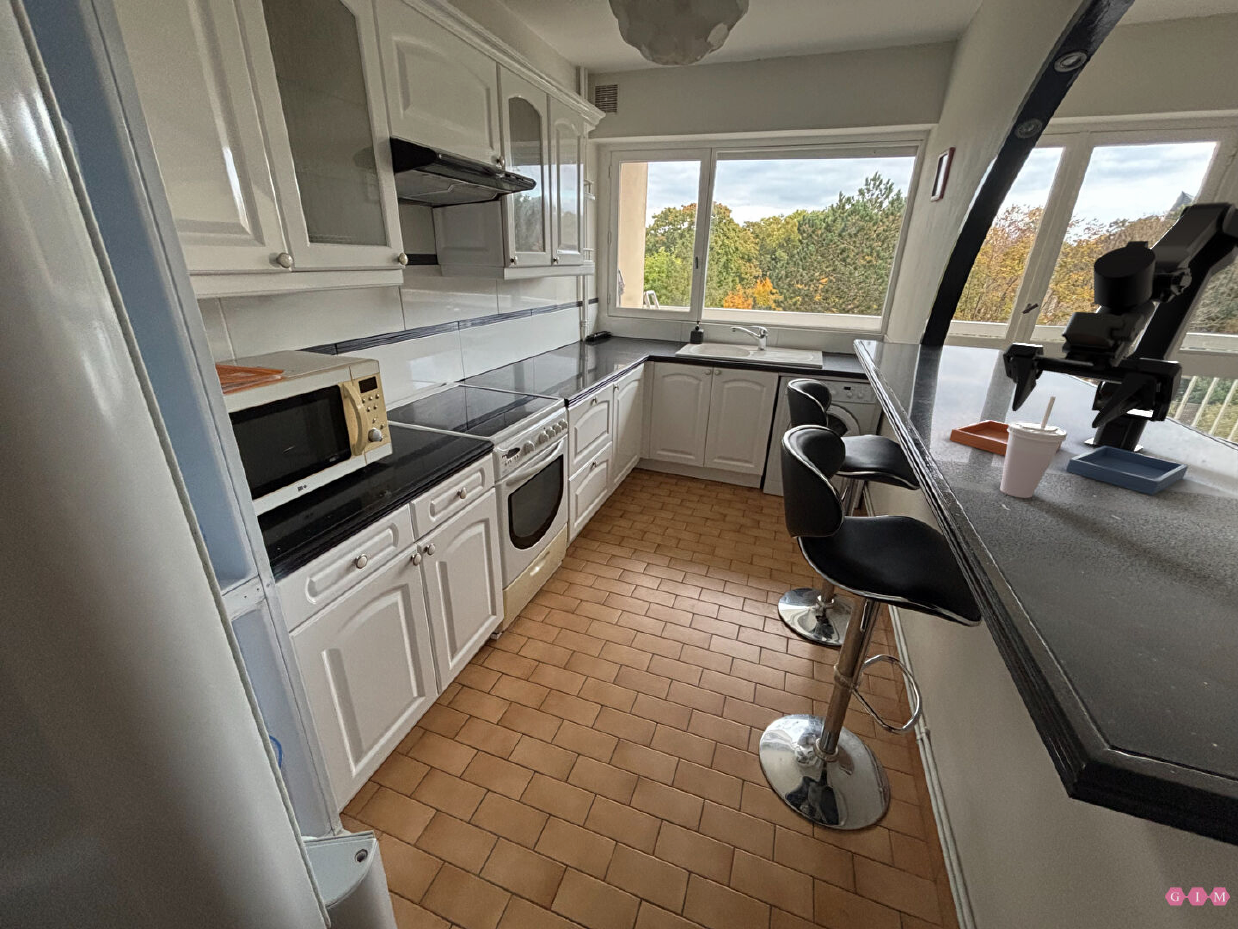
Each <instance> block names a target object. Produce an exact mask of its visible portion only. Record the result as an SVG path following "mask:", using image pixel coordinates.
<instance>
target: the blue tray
mask: <svg viewBox="0 0 1238 929" xmlns="http://www.w3.org/2000/svg"><path fill="white" fill-rule="evenodd" d="M1189 466H1190V465H1188V464H1185V463H1180V462H1176V461H1171V460H1168V459H1163V458H1158V457H1156V456H1150V455H1147V454H1142V453H1138V452H1136V453H1134V452H1130V451H1125V450H1121V449H1117V448H1113V447H1108V446H1102V447H1100V448H1098V447H1096V448H1095V449H1092V450H1090V451H1087V452H1085V453H1081V454H1080V455H1077V456H1074V457H1072V458H1070V459H1069V462H1068V464H1067V466H1066V468H1065V471H1066V472H1068V473H1071V474H1074V475H1078V476H1082V477H1086V478H1089V479H1092V480H1096V481H1099V482H1102V483H1103V482H1104V483H1107V484H1110V485H1114V486H1116V487H1117V486H1118V487H1121V488H1125V489H1128V490H1130V491H1131V490H1132V491H1135V492H1139V493H1142V494H1146V495H1149V496H1154V495H1155V494H1157V493H1159V492H1160V491H1163V490H1164V489H1166V488H1168V487H1170V486H1171V485H1173V484H1175V483H1176V482H1178V481H1180V480H1181V479H1183V478H1184V477H1185V474H1187V473H1186V472H1187V471H1188V469H1189Z"/></svg>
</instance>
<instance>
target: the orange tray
mask: <svg viewBox="0 0 1238 929" xmlns="http://www.w3.org/2000/svg"><path fill="white" fill-rule="evenodd" d="M1009 424H1010V423H1004V422H1001V421H996V420H993V419H986V420H982V421H978V422H975V423H971V424H967V425H963V426H959V427H956V428H952V429H951V432H950V436H949V439H948V440H949V441H952V442H955V443H958V444H962V445H965V446H969V447H973V448H976V449H980V450H982V451H987V452H990V453H993V454H997V455H1001V456H1004V457H1005V456H1006V450H1007V443H1008V438H1009V432H1008V431H1007V429H1008V427H1009ZM1062 444H1063V442H1061V443H1060V445H1059V447H1058V449H1057V450H1059V449H1061V446H1062Z"/></svg>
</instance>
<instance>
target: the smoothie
mask: <svg viewBox="0 0 1238 929" xmlns="http://www.w3.org/2000/svg"><path fill="white" fill-rule="evenodd" d="M1056 398H1057V397H1056V396H1050V397H1049V401H1048V403H1047V406H1046V409H1045V412H1044V415H1043V417H1042V420H1041V422H1035V421H1022V420H1020V421H1012V422H1010V423H1008V424H1009V427H1008V429H1007V431H1008V432H1009V438H1008V443H1007V450H1006V456H1004V463H1003V470H1002V476H1001V481H1000V488H999V490H1000V491H1001V492H1002V493H1004V494H1005V495H1008V496H1011V497H1015V498H1020V499H1029V498H1032V497H1033V495H1034V494H1035V492H1036V490H1037V488H1038V486H1039V484H1040V482H1041V480H1042V479H1043V477H1044V475H1045V473H1046V471H1047V469H1048V468H1049V466H1050V464H1051V462H1052V460H1053V459H1054V457H1055V455H1056V453H1057V451H1058V450H1059V449H1058V447H1059V445H1060V443H1061V442H1062V443H1063V442H1065V441H1066V438H1067V436H1068V432H1067V431H1066V430H1064V429H1063V428H1060V427H1057V426H1054V425H1050V424H1048V421H1049V418H1050V416H1051V412H1052V410H1053V407H1054V405H1055V401H1056Z"/></svg>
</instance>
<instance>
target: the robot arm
mask: <svg viewBox="0 0 1238 929" xmlns="http://www.w3.org/2000/svg"><path fill="white" fill-rule="evenodd" d="M1149 244H1150V241H1149V240H1128V242H1127V243H1126V244H1125V246H1122V247H1119V248H1115V249H1113V250H1109V251H1107V252H1106V253H1104V254H1103V255H1101V256H1100V257H1098V258H1097V259H1096V260H1095V261H1094V263H1093V303H1094V305H1098V306H1099V307H1098V308H1097V310H1096V311H1095V312H1089V311H1088V312H1087V311H1074V312H1072V313H1071V315H1070V317H1069V320H1068V321H1067V323H1066V325H1065V327H1064V329H1063V330H1062V333H1061V337H1062V338H1064V340H1065V342H1063V344H1062V345H1061V352H1062V353H1063V354H1065V355H1064V357H1059V356H1051V355H1045V353H1044V346H1043V345H1039V344H1037V345H1036V344H1028V343H1020V342H1015V343H1012V344H1011V343H1010V345H1008V346H1007V347H1006V349H1005V351H1004V352H1003V353H1002V359H1003V364H1004V370H1005V376H1006V377H1007V378H1009V379H1011V380H1012V382H1013V383H1014V384H1015V389H1014V395H1013V401H1012V404H1011V409H1012V412H1017V411H1018V410H1019V409H1020V408H1021V407H1022V406H1023V405H1024V403H1025V402H1026V400H1027V399H1028V398H1029V396H1030V395H1031V394H1032V392H1033V391H1034V389H1036V387H1037V380H1039V379H1040V378H1041V376H1042V375H1043V373H1044V372H1050V373H1057V374H1062V375H1067V376H1073V377H1076V378H1077V379H1078V378H1079V379H1084V380H1085V379H1086V380H1092V381H1099V382H1098V384H1097V387H1096V390H1095V393H1094V398H1093V402H1092V407H1091V411H1094V412H1096V411H1097V412H1098V413H1097V414H1096V415H1095V417H1094V419H1093V421H1092V423H1091V429H1096V431H1095V434H1094V436H1093V438H1091V439H1087V440H1085V441H1084V442H1083V444H1084V445H1086V446H1089V447H1094V448H1100V447H1102V446H1108V447H1113V448H1117V449H1121V450H1125V451H1130V452H1134V453H1138V452H1140V451H1143V450H1144V446H1142V445H1139V442H1140V439H1141V437H1142V435H1143V432H1144V430H1145V427H1146V425H1147V422H1153V423H1156V422H1165V421H1166V418H1167V416H1168V414H1169V411H1170V407H1171V403H1172V402H1173V400H1174V399H1175V397H1176V396H1177V394H1178V392H1179V390H1180V388H1181V380H1182V374H1183V365H1182V364H1181V363H1180V361H1173V360H1172V361H1171V360H1169V359H1170V356H1171V354H1172V353H1173V350H1174V349H1175V347H1176V345H1177V343H1178V341H1179V339H1180V338H1181V335H1182V334H1183V331H1184V330H1185V328H1186V326H1187V324H1188V322H1189V320H1190V318H1191V317H1192V315H1193V313H1194V310H1195V309H1196V307H1197V305H1198V303H1199V301H1200V299H1201V298H1202V295H1203V293H1204V292H1205V290H1206V288H1207V286H1208V284H1209V283H1210V280H1212V277H1214V276H1215V275H1217V274H1218V273H1220V272H1221V271H1223V270H1224V269H1227V267H1229V266H1230V265H1232V264H1233V263H1234V262H1235V261H1236V259H1237V257H1238V208H1237V206H1236V203H1234V202H1231V203H1230V202H1229V201H1216V202H1199V203H1193V204H1192V205H1186V206H1185V207H1184V209H1183V210H1182V212H1181V214H1180V216H1179V217H1178V218H1177V221H1176V222H1175V223H1174V224H1173V225H1172V226H1171V227H1170V228H1169V229H1168V230H1167V231H1166V232H1165V233H1164V234H1163V235H1162V236H1161V237H1160V239H1159V240H1158V241H1157V242H1156V243H1155V244H1154V245H1153V246H1152V247H1150V248H1149ZM1155 303H1157V304H1156V306H1155ZM1143 330H1144V331H1143ZM1142 331H1143V332H1142ZM1141 332H1142V334H1141V336H1140V333H1141ZM1139 336H1140V338H1139V340H1138V341H1137V344H1136V346H1135V347H1134V350H1133V352H1132V353H1131V354H1130V348H1131V347H1132V345H1133V344H1134V342H1135V341H1136V340H1137V338H1138V337H1139Z"/></svg>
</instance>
